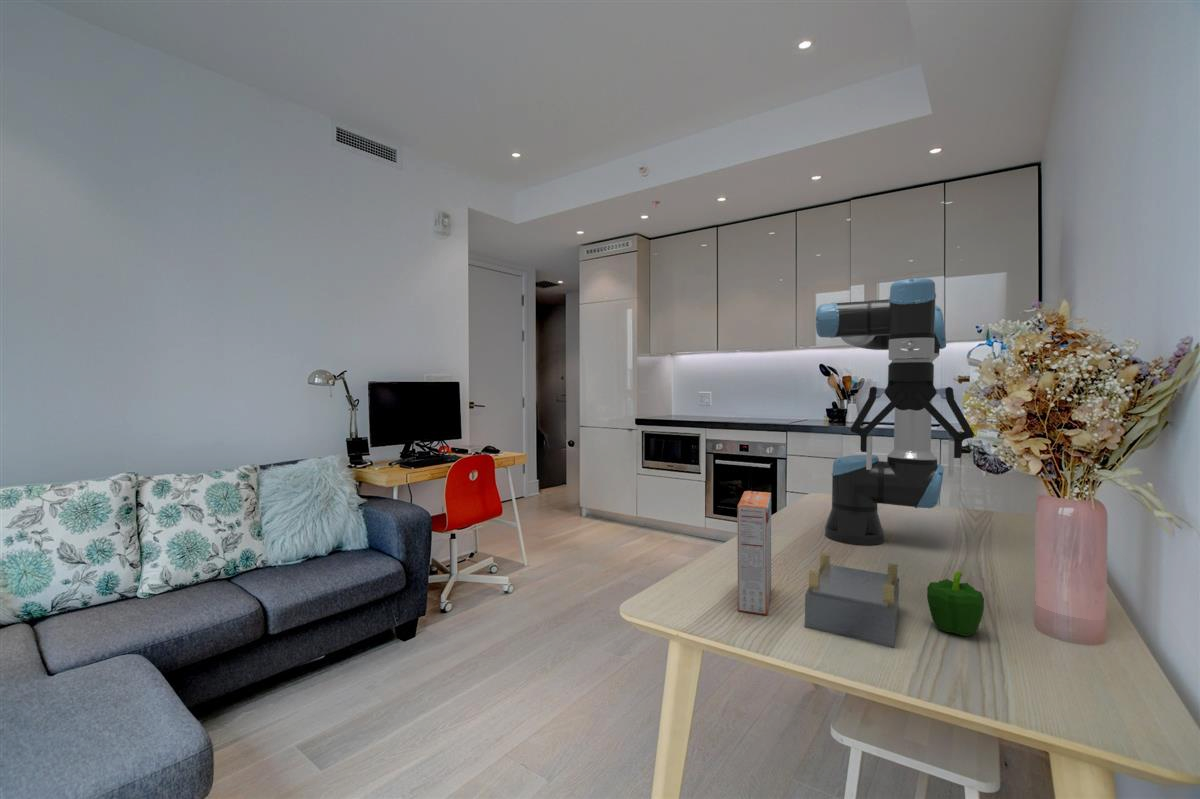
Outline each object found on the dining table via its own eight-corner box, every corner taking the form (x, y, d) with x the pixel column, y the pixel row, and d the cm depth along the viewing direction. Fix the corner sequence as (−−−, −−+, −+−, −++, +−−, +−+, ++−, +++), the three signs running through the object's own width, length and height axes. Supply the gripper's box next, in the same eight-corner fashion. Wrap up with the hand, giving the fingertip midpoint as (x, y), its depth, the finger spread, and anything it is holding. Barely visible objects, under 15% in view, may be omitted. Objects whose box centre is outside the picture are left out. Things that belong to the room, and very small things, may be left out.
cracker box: (742, 585, 114) (743, 489, 114) (771, 589, 112) (773, 491, 111) (734, 611, 101) (735, 503, 100) (767, 616, 99) (769, 506, 98)
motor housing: (824, 588, 113) (824, 545, 112) (899, 602, 105) (900, 557, 105) (804, 626, 95) (805, 576, 95) (893, 647, 87) (894, 592, 87)
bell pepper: (964, 645, 88) (965, 586, 88) (917, 624, 96) (918, 570, 95) (994, 635, 92) (996, 579, 91) (947, 616, 99) (948, 564, 99)
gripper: (836, 362, 104) (835, 469, 105) (993, 359, 91) (990, 481, 92) (842, 363, 110) (840, 463, 111) (989, 360, 97) (986, 475, 98)
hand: (908, 472), depth 101 cm, fingers open, 13 cm apart
